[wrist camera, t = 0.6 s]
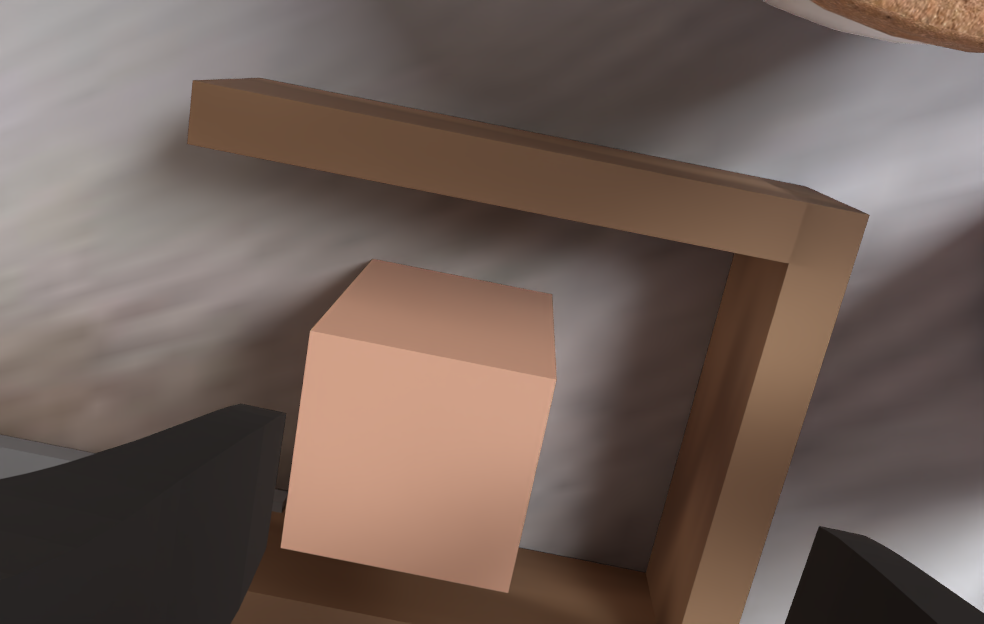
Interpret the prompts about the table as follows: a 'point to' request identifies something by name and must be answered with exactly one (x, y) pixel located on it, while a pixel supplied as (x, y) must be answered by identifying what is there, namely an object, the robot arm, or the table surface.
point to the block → (422, 425)
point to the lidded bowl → (899, 20)
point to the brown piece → (722, 385)
